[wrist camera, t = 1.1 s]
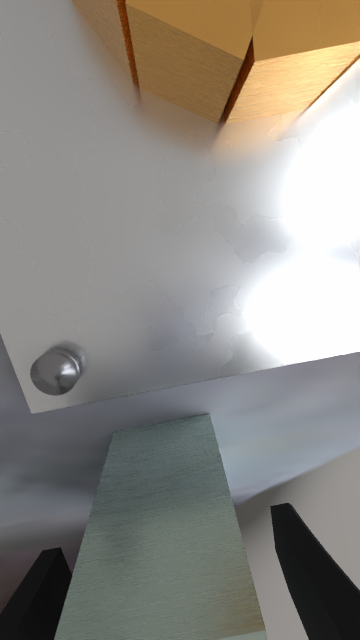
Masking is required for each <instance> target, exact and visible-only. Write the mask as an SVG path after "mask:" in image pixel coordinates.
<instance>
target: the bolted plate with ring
mask: <svg viewBox="0 0 360 640" xmlns="http://www.w3.org/2000/svg"><path fill="white" fill-rule="evenodd" d="M0 334H1V337H2V339H3V342H4V345H5V347H6V350H7V352H8V355H9V357H10V360H11V363H12V365H13V368H14V370H15V373H16V375H17V378H18V380H19V383H20V386H21V388H22V391H23V393H24V396H25V398H26V401H27V404H28V406H29V409H30V411H31V414H35V413H40V412H45V411H50V410H55V409H61V408H66V407H71V406H76V405H81V404H87V403H92V402H97V401H102V400H108V399H113V398H118V397H123V396H128V395H134V394H139V393H144V392H149V391H154V390H160V389H165V388H170V387H175V386H180V385H186V384H191V383H196V382H201V381H207V380H212V379H217V378H222V377H227V376H233V375H238V374H243V373H248V372H253V371H259V370H264V369H269V368H274V367H279V366H285V365H290V364H295V363H300V362H306V361H311V360H316V359H321V358H326V357H332V356H337V355H342V354H347V353H352V352H358V351H360V0H0Z"/></svg>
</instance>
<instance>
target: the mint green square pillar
mask: <svg viewBox="0 0 360 640" xmlns="http://www.w3.org/2000/svg"><path fill="white" fill-rule="evenodd" d="M54 640H267V635H266V629H265V625H264V622H263V618H262V614H261V610H260V606H259V602H258V598H257V594H256V591H255V587H254V583H253V579H252V575H251V571H250V568H249V564H248V560H247V556H246V552H245V548H244V544H243V541H242V537H241V533H240V529H239V525H238V521H237V517H236V513H235V510H234V506H233V502H232V498H231V494H230V490H229V486H228V482H227V479H226V475H225V471H224V467H223V463H222V459H221V455H220V452H219V448H218V444H217V440H216V436H215V432H214V428H213V425H212V421H211V417H210V414H205V415H199V416H194V417H189V418H184V419H178V420H173V421H168V422H163V423H158V424H152V425H147V426H142V427H137V428H131V429H126V430H121V431H116V432H114V433H113V436H112V440H111V443H110V447H109V450H108V454H107V457H106V461H105V464H104V468H103V471H102V475H101V478H100V482H99V485H98V489H97V492H96V496H95V499H94V503H93V506H92V509H91V513H90V516H89V520H88V523H87V527H86V530H85V534H84V537H83V541H82V544H81V548H80V551H79V555H78V558H77V562H76V565H75V569H74V572H73V576H72V579H71V583H70V586H69V589H68V593H67V596H66V600H65V603H64V607H63V610H62V614H61V617H60V621H59V624H58V628H57V631H56V635H55V638H54Z"/></svg>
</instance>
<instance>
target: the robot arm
mask: <svg viewBox="0 0 360 640" xmlns="http://www.w3.org/2000/svg"><path fill="white" fill-rule="evenodd" d="M270 507H271V515H272V524H273V532H274V541H275V549H276V553H277V555H278V559H279V562H280V565H281V568H282V571H283V574H284V577H285V580H286V583H287V586H288V589H289V592H290V594H291V597H292V599H293V602H294V604H295V607H296V609H297V611H298V614H299V616H300V619H301V621H302V624H303V626H304V629H305V631H306V633H307V636H308V638H309V640H360V590H359V589H358V588H357V587H356V586H355V585H354V584H353V582H352V581H351V580H350V579H349V577H348V576H347V575H346V574H345V573H344V572H343V570H342V569H341V568H340V567H339V566H338V564H337V563H336V562H335V561H334V560H333V559H332V557H331V556H330V555H329V554H328V553H327V551H326V550H325V549H324V548H323V546H322V545H321V544H320V542H319V541H318V540H317V539H316V537H315V536H314V535H313V534H312V532H311V531H310V530H309V528H308V527H307V526H306V524H305V523H304V522H303V521H302V519H301V518H300V516H299V515H298V513H297V512H296V511H295V509H294V508H293V506H292V505H291V504H289V503H284V504H279V505H274V506H270ZM71 579H72V574H71V571H70V569H69V567H68V564H67V562H66V560H65V557H64V555H63V553H62V550H61V548H60V547H59V548H54V549H49V550H44V551H42V552H41V554H40V555H39V557H38V558H37V560H36V561H35V562H34V564H33V565H32V567H31V568H30V570H29V571H28V573H27V575H26V576H25V578H24V579H23V581H22V582H21V584H20V585H19V587H18V588H17V590H16V591H15V593H14V594H13V596H12V597H11V599H10V600H9V602H8V603H7V605H6V606H5V608H4V609H3V611H2V612H1V614H0V640H54V638H55V635H56V631H57V628H58V624H59V621H60V617H61V614H62V610H63V607H64V603H65V600H66V596H67V593H68V589H69V586H70V583H71Z"/></svg>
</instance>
